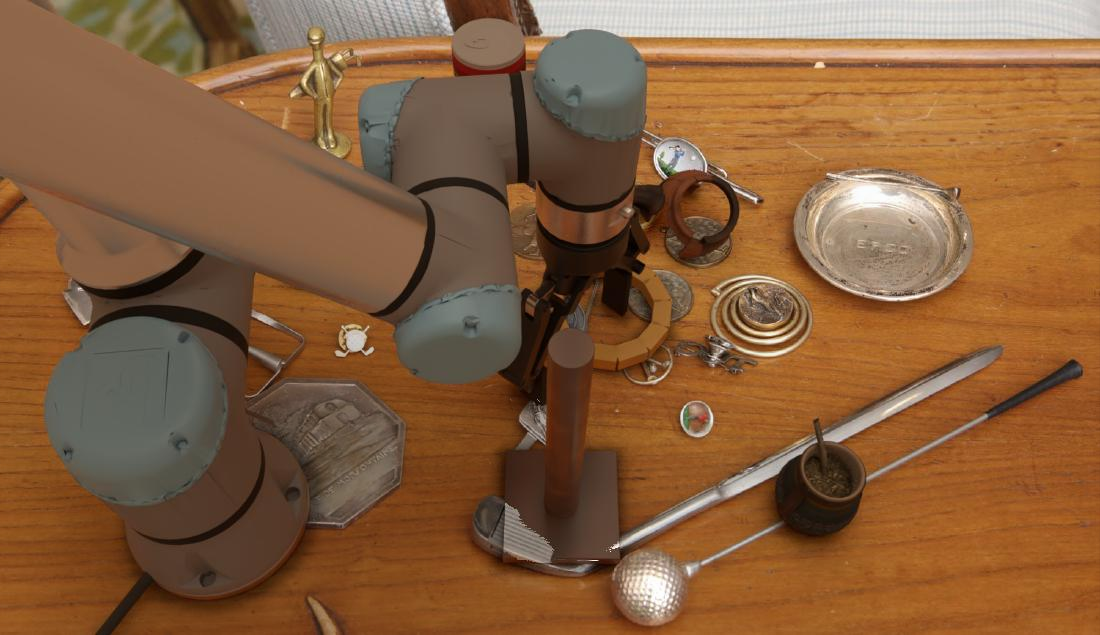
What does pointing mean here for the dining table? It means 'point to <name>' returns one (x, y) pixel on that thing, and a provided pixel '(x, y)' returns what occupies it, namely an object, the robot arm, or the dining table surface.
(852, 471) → the mate gourd
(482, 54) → the canned food
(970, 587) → the dining table surface
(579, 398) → the holder
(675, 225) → the brown knobbed loop
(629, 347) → the ring
